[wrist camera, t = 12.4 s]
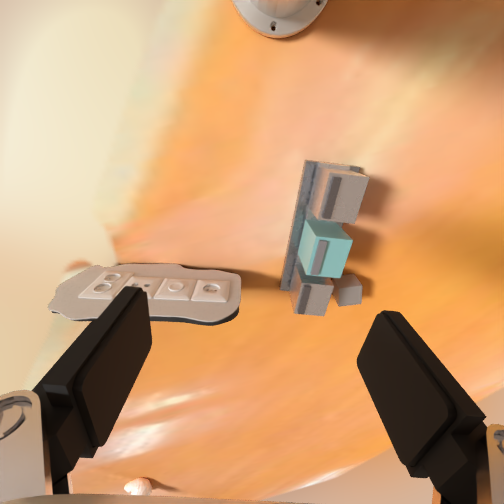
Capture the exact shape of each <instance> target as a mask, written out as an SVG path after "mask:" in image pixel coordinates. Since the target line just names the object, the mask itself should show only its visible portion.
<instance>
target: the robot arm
mask: <svg viewBox="0 0 504 504" xmlns="http://www.w3.org/2000/svg"><path fill="white" fill-rule="evenodd" d="M327 1H328V0H232V3H233V5H234V7H235V9H236V10H237V12H238V14H239V15H240V17H241V18H242V19H243V20H244V22H245V23H246V24H247V25H248V26H249V27H251V28H252V29H253V30H254V31H256V32H258V33H260V34H262V35H264V36H267V37H272V38H286V37H289V36H293V35H295V34H297V33H299V32H301V31H303V30H304V29H305V28H307V27H308V26H309V25H310V24H311V23H312V22H313V21H314V20H315V19H316V18H317V16H318V15H319V14H320V13H321V11H322V10H323V8H324V6H325V5H326V3H327ZM316 2H319V3H320V5H319V6H318V5H317V4H316ZM272 27H275V31H272V30H271V28H272ZM151 345H152V335H151V326H150V316H149V307H148V297H147V292H146V291H143V289H142V288H141V287H133V286H125V287H124V288H123V289H122V290H121V291H120V292H119V293H118V295H117V296H116V297H115V298H114V299H113V301H112V302H111V303H110V304H109V305H108V306H107V308H106V309H105V310H104V311H103V312H102V314H101V315H100V316H99V317H98V318H97V319H95V320H93V321H92V322H91V323H90V324H89V325H88V326H87V327H86V328H85V330H84V331H83V332H82V333H81V334H80V335H79V337H78V338H77V339H76V340H75V341H74V342H73V343H72V345H71V346H70V347H69V348H68V349H67V350H66V352H65V353H64V354H63V355H62V356H61V357H60V359H59V360H58V361H57V362H56V363H55V364H54V365H53V367H52V368H51V369H50V370H49V371H48V372H47V374H46V375H45V376H44V377H43V378H42V379H41V381H40V382H39V383H38V384H37V385H36V386H35V388H34V389H33V390H32V391H28V390H19V391H13V392H10V393H7V394H4V395H1V396H0V504H308V503H289V502H270V501H251V500H231V499H210V498H189V497H168V496H146V495H110V494H73V488H72V480H71V473H70V471H72V470H73V469H74V467H75V465H76V463H77V461H78V459H79V457H81V458H93V457H94V455H95V453H96V451H97V449H98V447H102V446H103V445H104V444H105V443H106V441H107V439H108V437H109V435H110V433H111V431H112V429H113V427H114V425H115V422H116V420H117V418H118V416H119V414H120V412H121V410H122V408H123V406H124V404H125V402H126V399H127V397H128V395H129V393H130V391H131V389H132V387H133V385H134V383H135V381H136V378H137V376H138V374H139V372H140V370H141V368H142V366H143V364H144V362H145V360H146V357H147V355H148V353H149V351H150V349H151ZM357 366H358V369H359V371H360V373H361V375H362V378H363V380H364V382H365V384H366V387H367V389H368V391H369V393H370V395H371V398H372V400H373V402H374V404H375V407H376V409H377V411H378V413H379V415H380V418H381V420H382V422H383V424H384V427H385V429H386V431H387V433H388V435H389V438H390V440H391V442H392V444H393V446H394V449H395V451H396V453H397V455H398V458H399V459H400V461H401V462H402V464H404V465H406V467H407V470H408V472H409V474H410V476H411V477H416V478H428V477H430V479H431V481H432V483H433V485H434V488H433V499H432V504H504V426H503V425H499V424H491V425H490V426H488V427H487V426H486V425H485V424H484V423H483V420H484V419H485V418H486V416H485V415H484V413H483V412H482V411H481V410H480V408H479V407H478V406H477V405H476V404H475V402H474V401H473V400H472V399H471V398H470V396H469V395H468V394H467V393H466V392H465V390H464V389H463V388H462V387H461V385H460V384H459V383H458V382H457V381H456V379H455V378H454V377H453V376H452V375H451V373H450V372H449V371H448V370H447V369H446V367H445V366H444V365H443V364H442V363H441V361H440V360H439V359H438V358H437V356H436V355H435V354H434V353H433V352H432V350H431V349H430V348H429V347H428V346H427V344H426V343H425V342H424V341H423V340H422V338H421V337H420V336H419V335H418V334H417V332H416V331H415V330H414V329H413V327H412V326H411V325H410V324H409V323H408V321H407V320H406V319H405V318H404V317H403V315H402V314H401V313H400V312H396V311H386V310H384V311H382V312H381V313H380V314H377V316H376V318H375V320H374V322H373V324H372V327H371V329H370V331H369V333H368V335H367V337H366V340H365V342H364V344H363V346H362V348H361V351H360V353H359V355H358V357H357Z"/></svg>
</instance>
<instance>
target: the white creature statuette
mask: <svg viewBox="0 0 504 504" xmlns="http://www.w3.org/2000/svg"><path fill="white" fill-rule="evenodd" d="M124 490H126V491H127V492H128V493H129V492H131V495H146V496H149V495H150V493H151V492H152V486H151V483H150V482H149V480H148V479H146V478H137V479H135V480H133V481H130V482H128V483H127V484H126V485H125V487H124Z"/></svg>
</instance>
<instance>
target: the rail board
mask: <svg viewBox="0 0 504 504" xmlns="http://www.w3.org/2000/svg"><path fill="white" fill-rule="evenodd" d="M359 170H360V167H357V166H350V165H342V164H334V163H326V162H318V161H310V160H305V162H304V167H303V172H302V177H301V182H300V187H299V192H298V197H297V202H296V206H295V211H294V216H293V221H292V226H291V231H290V236H289V241H288V246H287V251H286V256H285V261H284V266H283V271H282V276H281V281H280V286H279V287H280V290H284V291H289V294H290V298H291V303H292V307H293V311H294V313H295V314H306V315H317V316H324V315H325V312H326V309H327V306H328V303H329V300H330V297H331V294H332V291H333V288H334V285H333V283H332V281H331V279H330V277H322V276H312V275H306V273H305V271H304V268H303V265H302V263H301V260H300V257H299V255H298V250H299V245H300V241H301V237H302V232H303V228H304V223H305V219H308V220H317V221H326V222H334V223H337V224H338V225H339V226H340V227H341V228H342V225H343V223H352V224H355V221H356V218H357V215H358V212H359V209H360V206H361V202H362V199H363V196H364V193H365V190H366V187H367V184H368V181H369V178H370V177H368V176H365V175H362V174H360V173H359Z"/></svg>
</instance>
